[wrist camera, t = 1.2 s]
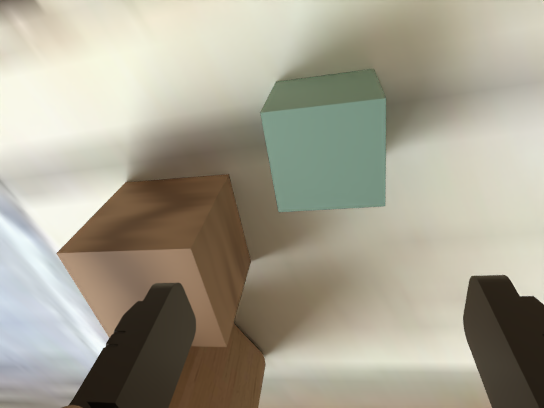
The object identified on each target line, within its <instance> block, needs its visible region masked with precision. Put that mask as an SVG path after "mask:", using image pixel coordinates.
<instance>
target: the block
mask: <svg viewBox="0 0 544 408" xmlns="http://www.w3.org/2000/svg"><path fill="white" fill-rule="evenodd" d="M264 370H265V358H264V356H263V354H262V353H261V352H260V350H259V349H258V348H257V347H256V346H255V345H254V344H253V343H252V342H251V341H250V340H249V339H248V338H247V337H246V336H245V335H244V334H243V333H242V332H241V331H240V330H239V329H238V327H237V326H236V325H235V324H234V323H233V326H232V330H231V333H230V337H229V341H228V344H227V347H201V346H191V348H190V350H189V353H188V356H187V359H186V361H185V364H184V367H183V370H182V372H181V375H180V378H179V380H178V383H177V386H176V389H175V391H174V394H173V397H172V400H171V402H170V405H169V408H258V405H259V399H260V394H261V388H262V382H263V376H264Z"/></svg>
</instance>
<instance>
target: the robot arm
mask: <svg viewBox="0 0 544 408" xmlns="http://www.w3.org/2000/svg"><path fill="white" fill-rule="evenodd" d="M463 323H464V331H465V335H466V339H467V342H468V344H469V347H470V350H471V352H472V355H473V358H474V360H475V363H476V366H477V368H478V371H479V374H480V376H481V379H482V382H483V384H484V387H485V390H486V392H487V395H488V398H489V400H490V403H491V406H492V408H544V304H542V303H541V302H540V301H539V300H537V299H536V298H535V297H534V296H522V297H520V296H519V294H518V293H517V291H516V289H515V287H514V286H513V284H512V282H511V281H510V279H509V278H508V277H507V276H505V275H490V276H471V278H470V280H469V286H468V291H467V297H466V303H465V309H464V315H463ZM195 332H196V318H195V314H194V312H193V310H192V307H191V305H190V302H189V300H188V298H187V295H186V293H185V290H184V288H183V286H182V284H180V283H155V284H153V285H152V286H151V288H150V289H149V291H148V293H147V295H146V296H145V298H144V300H143V301H137V302H136V303H135V304H134V305H133V306H132V307H131V308H130V309H129V310H128V311H127V312H126V313H125V314H124V315H123V316H122V318H121V320H120V321H119V323H118V325H117V326H116V328H115V330H114V334H112V335H111V336H110V338H109V340H108V341H107V343H106V347H105V348H103V350H102V351H101V353H100V355H99V357H98V358H97V360H96V362H95V363H94V365H93V367H92V368H91V370H90V372H89V373H88V375H87V377H86V378H85V380H84V382H83V383H82V385H81V387H80V388H79V390H78V392H77V393H76V395H75V397H74V398H73V400H72V401H71V403H70V404H69V405H68V406H65V407H62V408H169V405H170V402H171V400H172V397H173V394H174V391H175V389H176V386H177V383H178V380H179V378H180V375H181V372H182V370H183V367H184V364H185V361H186V359H187V356H188V353H189V350H190V348H191V345H192V342H193V340H194V337H195Z"/></svg>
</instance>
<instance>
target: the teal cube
mask: <svg viewBox="0 0 544 408" xmlns="http://www.w3.org/2000/svg"><path fill="white" fill-rule="evenodd" d="M260 114H261V119H262V125H263V130H264V136H265V141H266V147H267V152H268V157H269V163H270V168H271V174H272V179H273V185H274V190H275V196H276V201H277V206H278V212H292V211H310V210H327V209H345V208H363V207H381V206H385V179H386V97H385V95H384V92H383V90H382V87H381V85H380V83H379V80H378V78H377V75H376V73H375V71H374V69H369V70H361V71H354V72H346V73H339V74H331V75H324V76H316V77H309V78H301V79H294V80H286V81H279V82H276V83H275V85H274V87H273V89H272V91H271V93H270V95H269V97H268V99H267V101H266V102H265V104H264V106H263V108H262V110H261V112H260Z"/></svg>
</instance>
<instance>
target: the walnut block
mask: <svg viewBox="0 0 544 408" xmlns="http://www.w3.org/2000/svg"><path fill="white" fill-rule="evenodd" d="M57 255H58V256H59V258H60V260H61V261H62V263H63V264H64V266H65V268H66V269H67V271H68V272H69V274H70V276H71V277H72V279H73V280H74V282H75V284H76V285H77V287H78V288H79V290H80V292H81V293H82V295H83V296H84V298H85V299H86V301H87V303H88V304H89V306H90V307H91V309H92V311H93V312H94V314H95V315H96V317H97V319H98V320H99V322H100V323H101V325H102V327H103V328H104V330H105V331H106V333H107V335H108V336H109V338H110V336H111V335H112V334H114V330H115V328H116V326H117V325H118V323H119V321H120V320H121V318H122V316H123V315H124V314H125V313H126V312H127V311H128V310H129V309H130V308H131V307H132V306H133V305H134V304H135V303H136V302H137V301H143V300H144V298H145V296H146V295H147V293H148V291H149V289H150V288H151V286H152V285H153V284H155V283H180V284H182V286H183V288H184V290H185V293H186V295H187V298H188V300H189V302H190V305H191V307H192V310H193V312H194V314H195V318H196V332H195V337H194V340H193V342H192V345H191V346H201V347H227V344H228V341H229V337H230V333H231V330H232V326H233V323H234V319H235V316H236V312H237V309H238V305H239V302H240V298H241V295H242V291H243V287H244V284H245V280H246V277H247V273H248V270H249V266H250V263H251V260H250V256H249V252H248V248H247V244H246V240H245V236H244V232H243V228H242V224H241V221H240V217H239V213H238V209H237V205H236V201H235V197H234V193H233V189H232V185H231V181H230V177H229V174H226V175H213V176H201V177H188V178H175V179H163V180H150V181H138V182H126V183H125V184H124V185H123V186H122V187H121V188H120V189H119V190H118V191H117V192H116V193H115V194H114V195H113V196H112V197H111V198H110V199H109V200H108V201H107V202H106V203H105V204H104V205H103V206H102V207H101V208H100V209H99V210H98V211H97V212H96V213H95V214H94V215H93V216H92V217H91V218H90V219H89V220H88V222H87V223H86V224H85V225H84V226H83V227H82V228H81V229H80V230H79V231H78V232H77V233H76V234H75V235H74V236H73V237H72V238H71V239H70V240H69V241H68V242H67V243H66V244H65V245H64V246H63V247H62V248H61V249H60V250H59V251H58V252H57Z"/></svg>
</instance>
